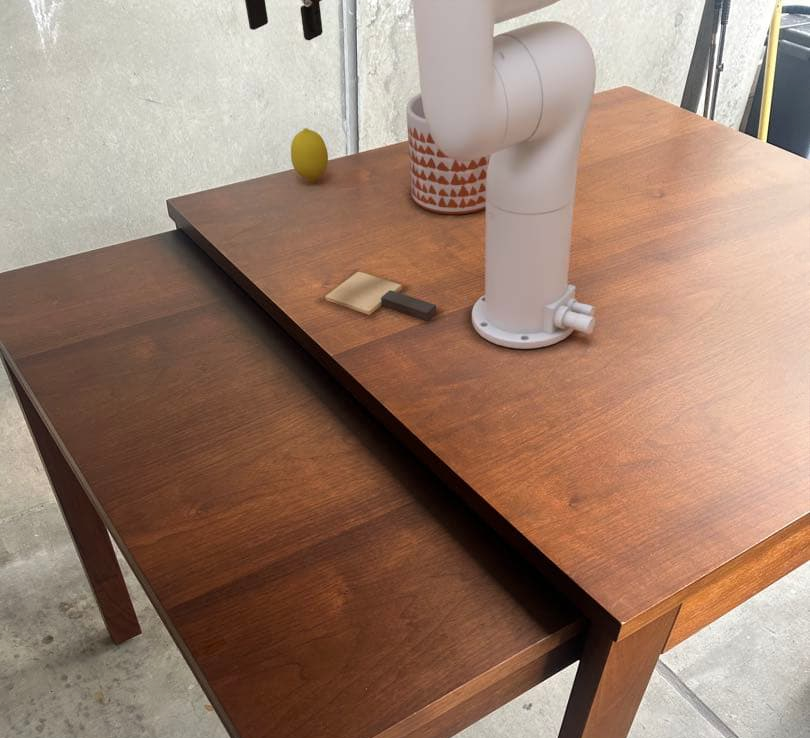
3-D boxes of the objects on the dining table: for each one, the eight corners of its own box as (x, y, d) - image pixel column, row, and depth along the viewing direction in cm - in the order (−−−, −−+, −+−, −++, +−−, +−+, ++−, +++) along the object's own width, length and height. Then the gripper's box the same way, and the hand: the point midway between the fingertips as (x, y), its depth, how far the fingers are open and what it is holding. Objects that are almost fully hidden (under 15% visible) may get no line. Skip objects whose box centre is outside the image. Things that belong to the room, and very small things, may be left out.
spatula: (447, 303, 107) (447, 295, 106) (415, 331, 104) (415, 322, 103) (358, 274, 113) (357, 266, 112) (325, 300, 110) (324, 291, 109)
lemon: (325, 190, 131) (318, 136, 125) (290, 189, 132) (282, 135, 126) (334, 174, 134) (328, 121, 129) (300, 173, 135) (293, 120, 130)
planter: (490, 220, 121) (491, 127, 112) (398, 211, 125) (392, 119, 115) (514, 177, 130) (517, 87, 121) (427, 169, 133) (424, 81, 124)
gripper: (191, -123, 106) (220, 31, 119) (299, -113, 99) (318, 50, 112) (232, -136, 110) (256, 14, 123) (339, -127, 103) (353, 32, 116)
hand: (286, 31), depth 117 cm, fingers open, 9 cm apart
